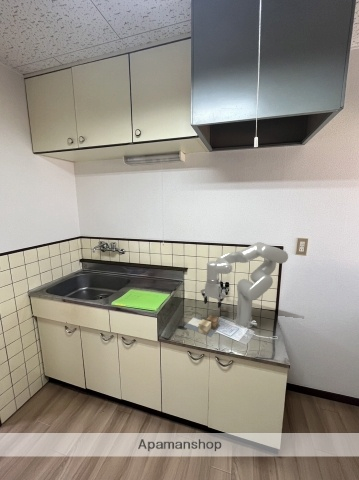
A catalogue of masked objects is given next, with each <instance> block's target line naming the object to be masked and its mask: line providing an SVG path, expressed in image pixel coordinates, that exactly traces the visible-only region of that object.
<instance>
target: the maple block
mask: <svg viewBox="0 0 359 480" xmlns="http://www.w3.org/2000/svg"><path fill="white" fill-rule="evenodd" d="M202 319H203V318H202ZM210 331H211V322H210V321H207V319H203V320H202V321H201V322H200V323H199V332H200V333H199V334H201V333H203V334H202V335H204V334H205V335H204V336H206V335H207V334H208V333H209V332H210Z"/></svg>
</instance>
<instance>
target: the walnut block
mask: <svg viewBox="0 0 359 480" xmlns="http://www.w3.org/2000/svg"><path fill="white" fill-rule="evenodd" d="M206 320H207V321H210V322H211V329H213V330H215V329H216V328H217V327H218V326H219V325H220V324H219V322H220V320H219V317H218V316H215V315H212V314H209V316H208V317H207V318H206Z"/></svg>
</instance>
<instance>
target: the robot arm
mask: <svg viewBox="0 0 359 480" xmlns="http://www.w3.org/2000/svg"><path fill="white" fill-rule="evenodd" d="M259 257H260V258H263V259H264V261H263V263H261V264H260V265H259V266H257V268H256V269H255V270H254V271H253V272H251V273H250V280H251V281H252V282H251V281H250V280H248V279H245V278H243V279H240V280H239V281H238V282H237V284H236V291H237V305H236V306H237V308H236V318H234V319H233V321H234V324H235V325H236V326H238V327H239V328H245V329H250V328H252V327H253V326H255V327H258V323H257V321H256V320H254V319H253V317H252V313H253V312H252V311H253V310H252V309H253V301H256V300H258V299H259V298H260V297H261V296H262V295H264V294H265V293H266V292H267V291H268V290H269V289H271V287H272V286H273V283H274V281H273V279H274V278H273V277H272V276H271V275H272V273H274V272H275V270H276V268H277V267H276V266H277V264H284V263H286V262H287V261H288V259H289V254H288V252H287V251H286V250H283V249H280V248H279V247H275V246H271V245H269V244H266V243H264V242H260V241H259V242H255V243H254V244H251V245H249V246H247V247H246V248H243V249H241V250H237V251H234V252H229V253H225V254H224V255H221V256H220V257H218V258H217V259H216V260H215V261H214V260H210V261H208V262H207V263H206V281H205V284H204V288H203V289H201V290H200V293H201V296H202V298H203V302H204V304H205V305H206V304H207V303H208V301H209V300H208V297H209V298H212V299H216V300H217V301H218V302H217V309H220V308H221V306H222V302H223V301H224V300H225V298H226V295H225V294H224V293H222V287H221V280H220V276H219V275H220V274H221V275H222V274H223V275H228V274H230V273H232V271H233V265H232V264H233V263H239V264H240V263H244V264H246V263H249V262H250V261H253V260H255V259H257V258H259Z"/></svg>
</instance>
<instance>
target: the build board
mask: <svg viewBox="0 0 359 480" xmlns="http://www.w3.org/2000/svg"><path fill="white" fill-rule="evenodd" d="M202 320H203V318H201V317H197V316H193V317H192V318H191V319H190V320H189V321H188V322H186V324H185V325H183V327H184V328H185V329H189V330H190V331H192V332H196V333H198V334H201V335H204V336H206V337H209V338H212V337H213V335H214V334H215V333H216V332H217V330H219V328H220V327H221V325H220V324H219V326H218V327H217V328H216V329H215V330H213V329H211V331H210V332H209V333H208V334H207V335H205V334H203V333H200V332H199V323H200V322H201V321H202Z"/></svg>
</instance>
